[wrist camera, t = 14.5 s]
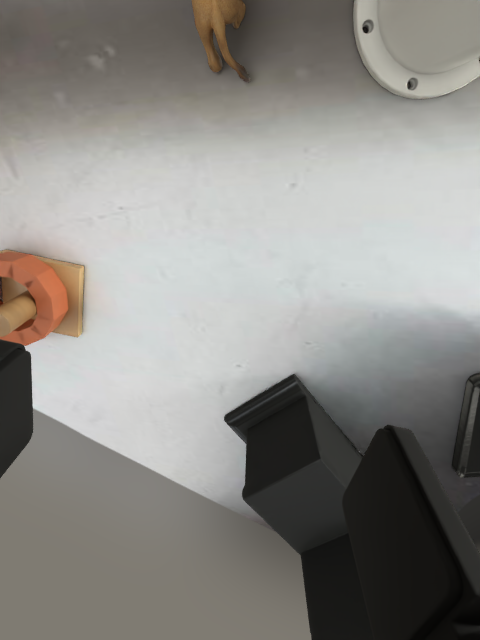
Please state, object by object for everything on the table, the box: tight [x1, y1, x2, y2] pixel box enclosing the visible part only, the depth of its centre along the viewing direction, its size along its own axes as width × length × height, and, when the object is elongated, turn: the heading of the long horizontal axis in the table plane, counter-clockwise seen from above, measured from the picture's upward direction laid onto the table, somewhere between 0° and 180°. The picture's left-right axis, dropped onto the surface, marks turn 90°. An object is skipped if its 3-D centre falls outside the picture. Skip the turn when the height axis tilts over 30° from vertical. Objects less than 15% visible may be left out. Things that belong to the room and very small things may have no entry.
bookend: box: [224, 374, 374, 640], centre depth 35 cm, size 23×11×24 cm, turn 37°
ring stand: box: [0, 249, 84, 337], centre depth 34 cm, size 8×8×8 cm
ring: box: [0, 252, 68, 346], centre depth 35 cm, size 9×9×3 cm
